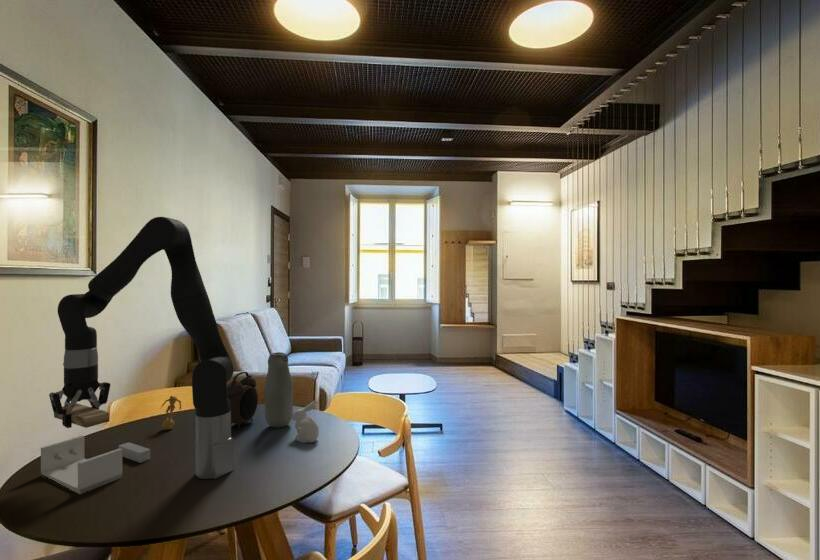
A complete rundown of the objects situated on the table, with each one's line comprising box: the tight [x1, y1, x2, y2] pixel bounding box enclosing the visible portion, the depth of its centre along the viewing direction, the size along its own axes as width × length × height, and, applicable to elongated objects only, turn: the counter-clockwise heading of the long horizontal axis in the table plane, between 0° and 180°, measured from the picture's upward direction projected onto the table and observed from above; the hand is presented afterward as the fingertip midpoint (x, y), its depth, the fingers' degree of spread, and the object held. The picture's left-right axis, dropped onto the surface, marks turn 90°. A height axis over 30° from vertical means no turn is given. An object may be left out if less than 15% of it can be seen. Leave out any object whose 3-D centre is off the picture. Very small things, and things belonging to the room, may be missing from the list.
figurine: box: [160, 395, 182, 431], centre depth 150 cm, size 8×6×12 cm
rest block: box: [117, 442, 151, 464], centre depth 126 cm, size 12×3×3 cm, turn 63°
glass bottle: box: [263, 352, 294, 429], centre depth 152 cm, size 10×10×28 cm
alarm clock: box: [227, 371, 259, 430], centre depth 154 cm, size 15×7×20 cm, turn 168°
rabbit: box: [291, 400, 320, 444], centre depth 140 cm, size 12×9×12 cm
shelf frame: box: [40, 434, 123, 495], centre depth 113 cm, size 22×10×8 cm, turn 63°
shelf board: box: [53, 402, 110, 429], centre depth 114 cm, size 18×6×2 cm, turn 63°
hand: (81, 423), depth 114 cm, fingers closed on shelf board, 5 cm apart
